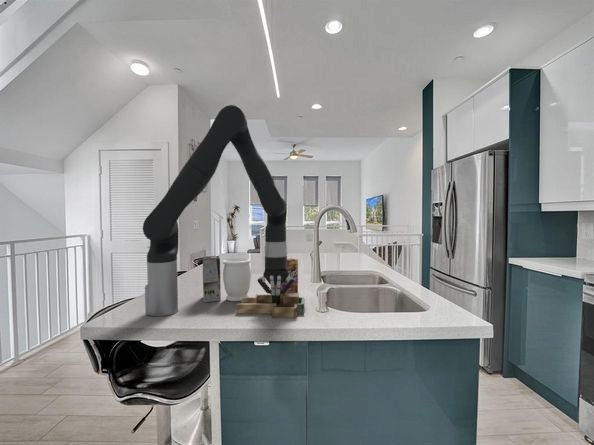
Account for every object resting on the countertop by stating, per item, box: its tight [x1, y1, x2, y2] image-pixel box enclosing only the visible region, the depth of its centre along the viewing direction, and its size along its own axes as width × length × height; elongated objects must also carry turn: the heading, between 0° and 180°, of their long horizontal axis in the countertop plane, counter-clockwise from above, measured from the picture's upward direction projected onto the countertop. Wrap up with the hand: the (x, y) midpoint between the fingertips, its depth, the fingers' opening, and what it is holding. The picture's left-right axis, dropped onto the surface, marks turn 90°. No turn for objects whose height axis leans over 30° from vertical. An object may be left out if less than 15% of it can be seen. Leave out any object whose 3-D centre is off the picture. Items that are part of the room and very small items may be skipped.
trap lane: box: [236, 293, 305, 319], centre depth 108 cm, size 22×17×3 cm
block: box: [282, 292, 300, 307], centre depth 107 cm, size 5×5×5 cm
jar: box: [222, 257, 252, 302], centre depth 122 cm, size 11×10×15 cm
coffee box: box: [202, 255, 222, 303], centre depth 122 cm, size 9×6×16 cm
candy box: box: [276, 257, 299, 297], centre depth 120 cm, size 9×4×15 cm, turn 134°
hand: (276, 305), depth 107 cm, fingers closed
